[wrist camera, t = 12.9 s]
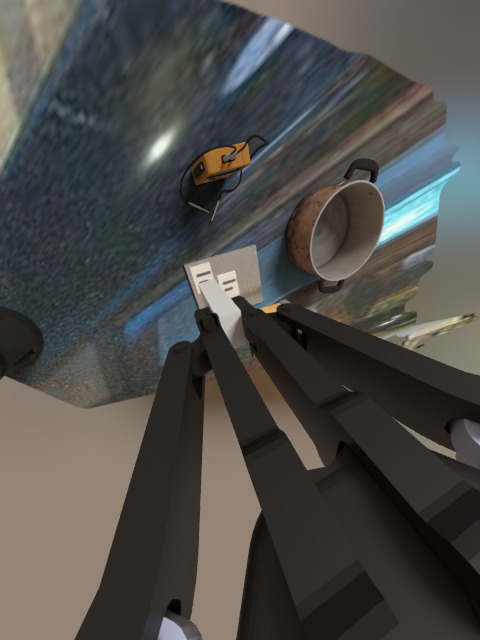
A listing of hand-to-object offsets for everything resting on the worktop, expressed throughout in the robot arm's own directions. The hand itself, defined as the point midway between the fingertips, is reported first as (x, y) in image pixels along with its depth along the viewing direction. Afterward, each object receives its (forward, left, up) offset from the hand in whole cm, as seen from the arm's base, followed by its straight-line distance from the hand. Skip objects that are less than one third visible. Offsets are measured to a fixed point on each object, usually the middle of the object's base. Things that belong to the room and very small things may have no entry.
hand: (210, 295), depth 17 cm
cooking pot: (+39, -6, -33) cm, 51 cm away
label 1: (+3, -9, -32) cm, 34 cm away
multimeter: (+11, +8, -33) cm, 35 cm away
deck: (+9, -13, -32) cm, 36 cm away
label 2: (+9, -13, -32) cm, 36 cm away
